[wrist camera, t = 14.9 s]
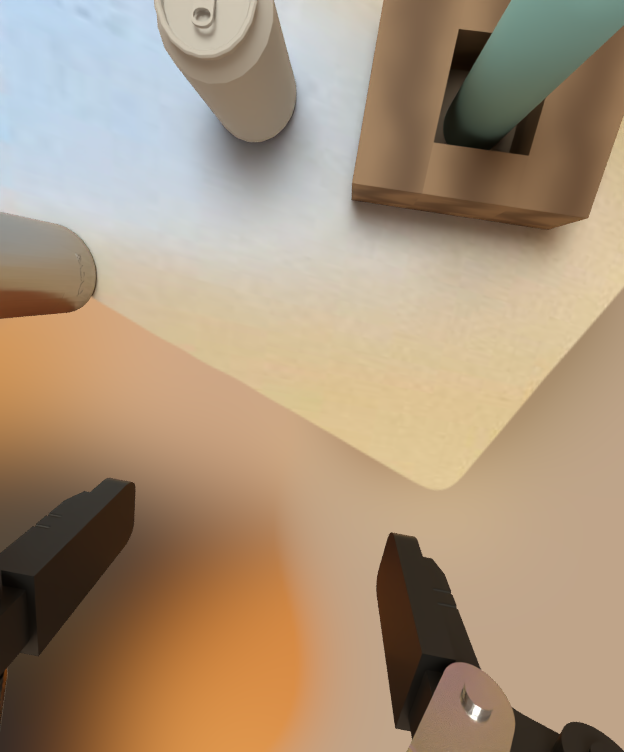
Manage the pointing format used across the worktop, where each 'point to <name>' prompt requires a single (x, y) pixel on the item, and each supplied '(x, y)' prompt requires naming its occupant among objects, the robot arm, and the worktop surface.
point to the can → (232, 61)
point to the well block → (470, 165)
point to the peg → (526, 64)
